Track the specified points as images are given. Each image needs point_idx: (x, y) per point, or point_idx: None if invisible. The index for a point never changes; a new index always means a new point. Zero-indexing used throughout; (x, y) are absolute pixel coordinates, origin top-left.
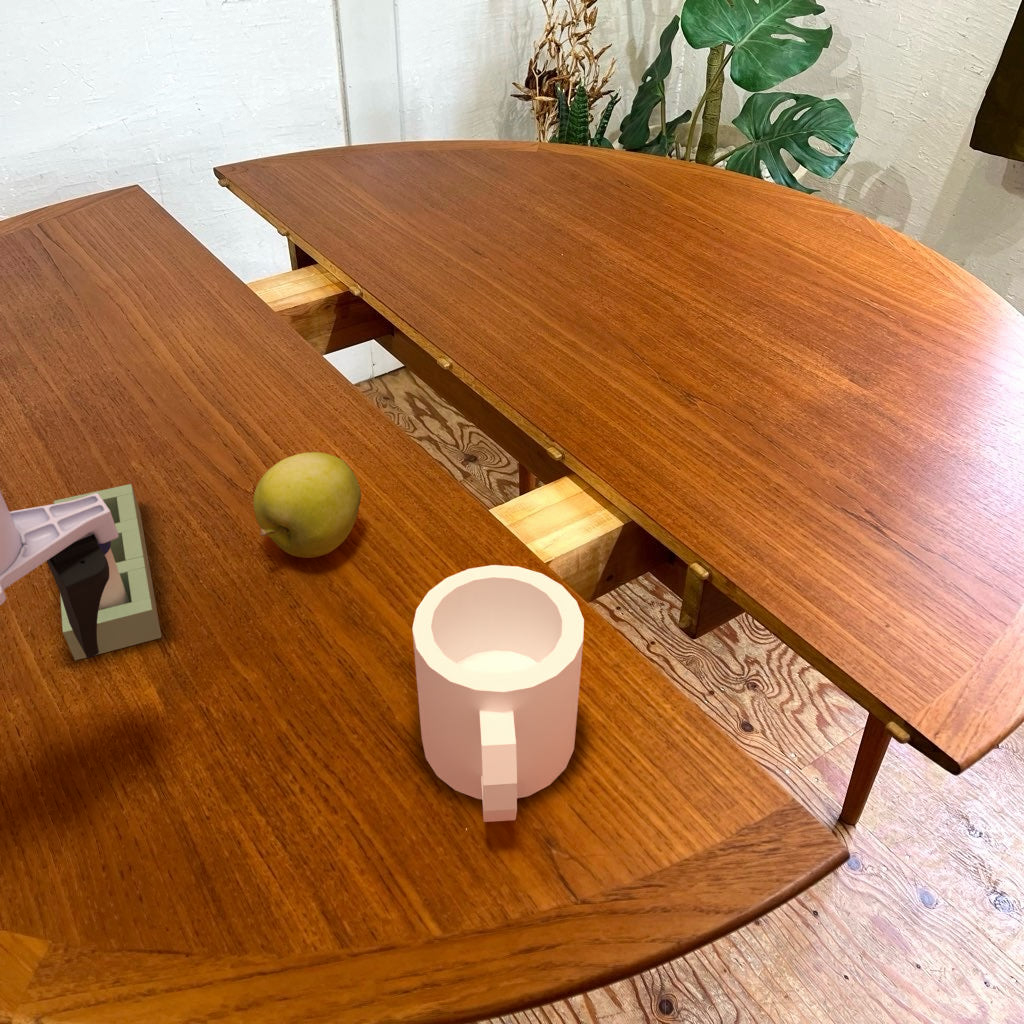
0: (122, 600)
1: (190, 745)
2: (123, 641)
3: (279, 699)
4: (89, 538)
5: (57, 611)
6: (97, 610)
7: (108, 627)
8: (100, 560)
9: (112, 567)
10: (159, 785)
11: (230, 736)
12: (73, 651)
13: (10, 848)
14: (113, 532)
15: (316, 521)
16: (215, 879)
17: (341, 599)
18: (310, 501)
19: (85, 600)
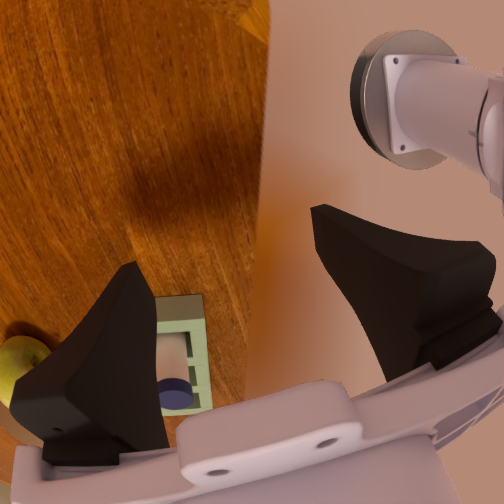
0: (157, 336)
1: (102, 182)
2: (160, 301)
3: (33, 212)
4: (56, 463)
5: (214, 337)
6: (78, 325)
7: (168, 315)
8: (24, 421)
9: (157, 367)
10: (130, 145)
11: (69, 182)
12: (200, 301)
13: (262, 123)
14: (17, 458)
15: (4, 363)
16: (94, 37)
17: (4, 295)
18: (5, 380)
19: (74, 348)
